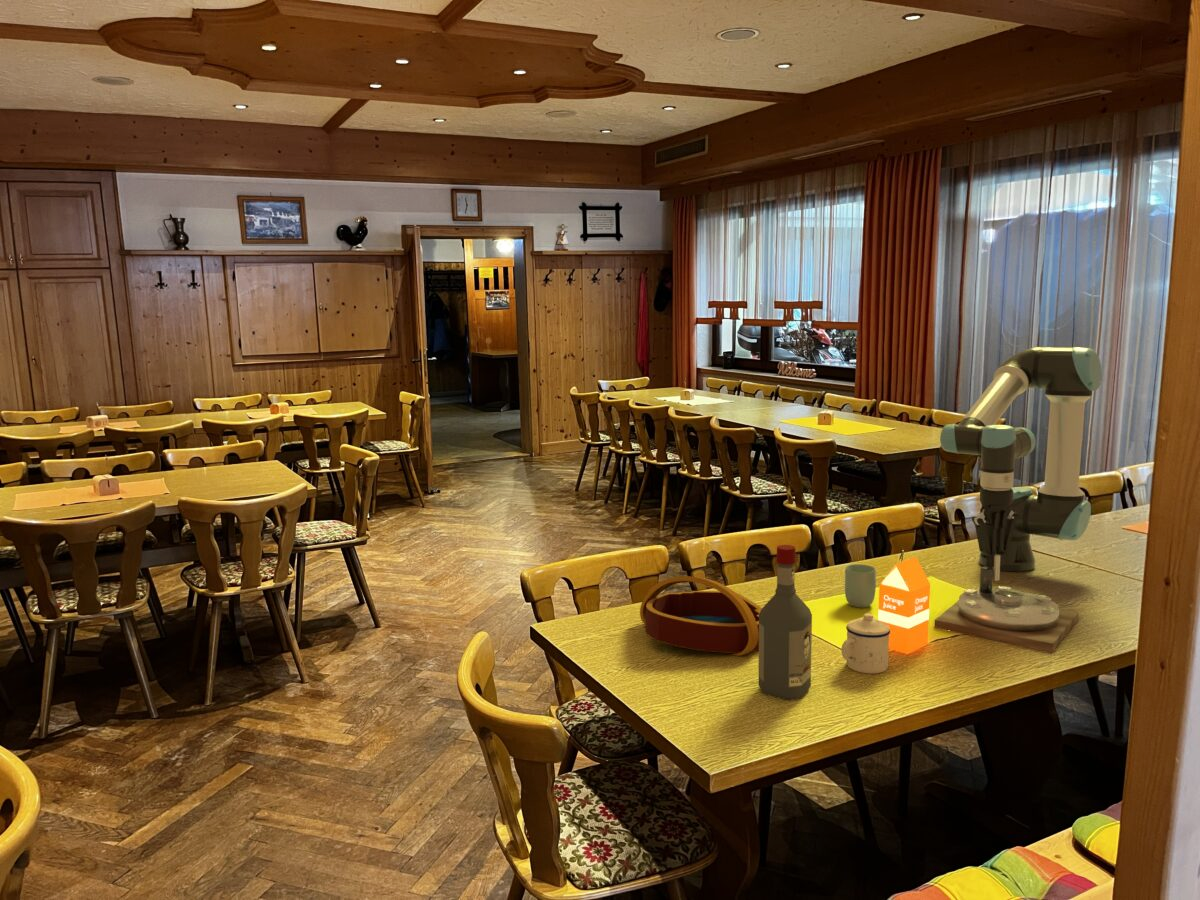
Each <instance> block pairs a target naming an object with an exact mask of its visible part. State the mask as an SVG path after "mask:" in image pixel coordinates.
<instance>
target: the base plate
mask: <svg viewBox="0 0 1200 900" xmlns="http://www.w3.org/2000/svg"><path fill="white" fill-rule="evenodd" d="M1079 617H1080V612H1079V611H1075V610H1071V609H1065V608H1061V607H1059V621H1058V624H1057V625H1056V626H1054V627H1052V628H1049V629H1044V630H1036V631H1016V630H1006V629H999V628H994V627H989V626H985V625H982V624H978V623H976V622H973V621H971V620H969V619H967V618H965V617H963V616H962V615H961V614H960V613H959V600H957V601H956V602H955V603H954V604H952V605H951V606H950V607H948V608H947V609H946V610H945V611H943V612H942V613H941V614H940V615H938V616H937V617H936V618H935V619H934V626H933V627H934V629H938V628H939V629H938V630H943V629H944V630H945V631H948V630H950V631H949V632H953V633H958V634H962V635H963V634H964V635H968V636H973V637H977V638H982V639H986V640H992V641H995V642H996V641H997V642H1002V643H1007V644H1010V645H1016V646H1020V647H1025V648H1030V649H1034V650H1041V651H1045V652H1048V653H1054V652H1055V650H1056V649H1057V648H1058V646H1060V644H1061V643H1062V641H1063V640H1064V639H1065V637H1066V636H1067V635H1068V634H1069V633H1070V631H1071V630H1072V628H1073V627H1074V626H1075V625H1076V623H1077V622H1078V621H1079V620H1080V619H1079Z"/></svg>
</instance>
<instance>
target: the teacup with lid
mask: <svg viewBox="0 0 1200 900" xmlns="http://www.w3.org/2000/svg"><path fill="white" fill-rule="evenodd" d="M845 629H846V631H847V632H846V633H847V634H846V635H847V636H846V640H844V641H843V642H842V644H841V649H840V650H841V655H842V658H843V659H844V660H845V661H846V666H848V668H850V669H851V670H852V671H855V672H857V673H862V674H869V675H870V674H871V675H872V674H882V673H884V672H886V671H887V670H888V668H889V653H890V651H889V634H890V628H889V626H888V625H887V624H885V623H884V622H881V621H878V618H874V615H873V614H872V613H864V614H863V617H861V618H860V617H859V618H857V619H853V620H850V621H849V622H848V623H847V624H846V627H845Z"/></svg>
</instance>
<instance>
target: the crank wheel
mask: <svg viewBox="0 0 1200 900" xmlns="http://www.w3.org/2000/svg"><path fill="white" fill-rule="evenodd" d="M993 582H994V580H993V568H990V567H985V566H981V567H980V568H979V585H978V586H979V588H978V589H972V588H968V589H966V590H963V592H962V593H961V594H960V595H959V597H958V601H959V613H960V614H961V615H962V616H963V617H965V618H967V619H969V620H971V621H973V622H976V623H978V624H982V625H985V626H989V627H994V628H999V629H1006V630H1016V631H1036V630H1044V629H1049V628H1052V627H1054V626H1056V625H1057V624H1058V621H1059V608H1060V606H1059V605H1058V604H1057V603H1056V602H1055V601H1053V600H1052V597H1049V596H1048V595H1045V594H1036V593H1031V592H1026V591H1022V590H1014V589H1012V587H1011V586H1000V585H999V586H998V588H993Z"/></svg>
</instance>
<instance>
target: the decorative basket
mask: <svg viewBox="0 0 1200 900" xmlns="http://www.w3.org/2000/svg"><path fill="white" fill-rule="evenodd" d="M680 583H696V584H701V585H706V586H707V587H710V588H712V589H715V590H691V591H680V592H666V593H663V594H661V593H662V592H663V591H665V590H667V589H668V588H670V587H671V586H674V585H677V584H680ZM762 608H763V607H761V606H760V605H758V604H756V603H755V602H753V601H752V600H750V599H748V598H747V597H745V596H744V595H742V594H740V593H738V592H735V591H734V590H733V589H731V588H729V587H728V586H726V585H724V584H722V583H720V582H718V581H715V580H712V579H708V578H705V577H698V576H689V575H688V576H687V575H686V576H685V575H684V576H683V575H682V576H681V575H680V576H675V577H669V578H666V579H663V580H662V581H659V582H658V583H655V584H654V585H653V586H652V587H651V588H650V589H649V590H648V591H647V593H646V594H645V596H644V597H643V600H642V602H641V604H640V607H639V617H640V619H641V621H642V623H643V625H645V631H644V632H645V633H646V634H647V636H648V637H650V638H651V639H653V640H656V641H658V642H660V643H663V644H668V645H672V646H675V647H679V648H684V649H690V650H695V651H702V652H713V653H714V652H715V653H729V654H730V655H733V656H738V657H741V656H743V655H746V654H748V653H750V652H751V653H752V652H755V651H759V614H760V611H761V609H762Z"/></svg>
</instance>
